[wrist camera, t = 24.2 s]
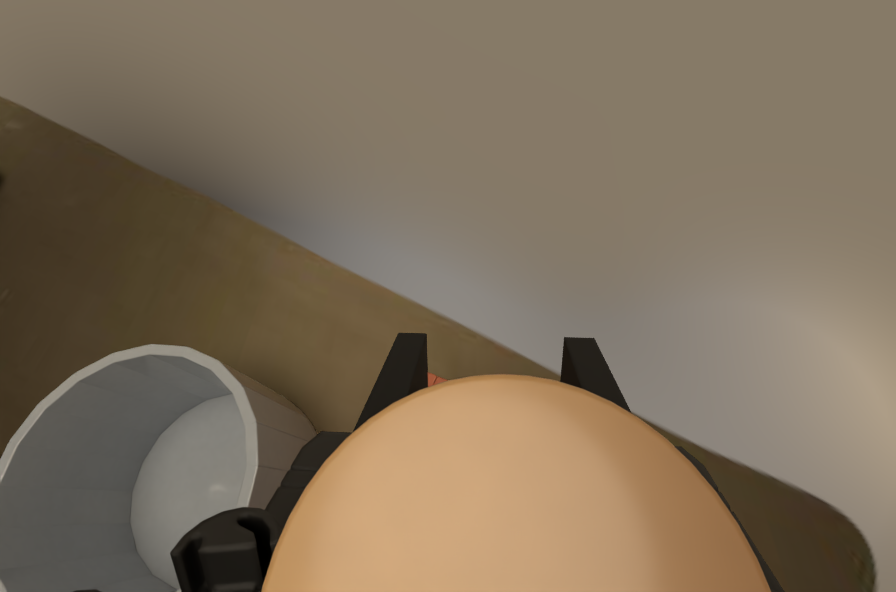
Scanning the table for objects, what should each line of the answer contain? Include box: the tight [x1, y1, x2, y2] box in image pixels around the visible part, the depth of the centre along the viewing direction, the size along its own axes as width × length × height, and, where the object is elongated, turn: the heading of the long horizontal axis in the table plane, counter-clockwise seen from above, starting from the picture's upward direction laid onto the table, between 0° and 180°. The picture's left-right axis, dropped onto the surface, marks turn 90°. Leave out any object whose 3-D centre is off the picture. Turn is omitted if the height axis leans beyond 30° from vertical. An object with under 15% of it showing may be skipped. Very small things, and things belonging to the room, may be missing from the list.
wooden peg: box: [262, 374, 771, 592], centre depth 10 cm, size 6×6×15 cm
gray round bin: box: [0, 344, 317, 592], centre depth 22 cm, size 11×11×8 cm
